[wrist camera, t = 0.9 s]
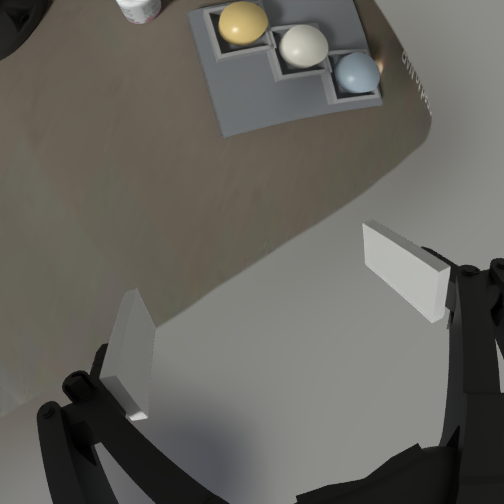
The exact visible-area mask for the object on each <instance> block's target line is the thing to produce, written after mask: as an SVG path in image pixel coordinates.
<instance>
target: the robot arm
mask: <svg viewBox="0 0 504 504" xmlns="http://www.w3.org/2000/svg"><path fill="white" fill-rule="evenodd" d="M47 1H48V0H0V60H2V59H4V58H6V57H7V56H9V55H10V54H11V53H13V52H14V51H15V50H16V49H17V48H19V47H20V46H21V45H22V44H23V43H24V41H25V40H26V39H27V38H28V37H29V36H30V34H31V33H32V32H33V30H34V29H35V27H36V26H37V24H38V23H39V21H40V19H41V17H42V15H43V13H44V10H45V8H46V5H47ZM363 236H364V251H365V264H366V266H368V267H369V268H370V269H371V270H372V271H374V272H375V273H376V274H377V275H378V276H379V277H381V278H382V279H383V280H384V281H385V282H387V283H388V284H389V285H390V286H391V287H392V288H393V289H395V290H396V291H397V292H398V293H399V294H400V295H401V296H402V297H404V298H405V299H406V300H407V301H408V302H409V303H410V304H412V305H413V306H414V307H415V308H416V309H417V310H418V311H419V312H420V313H422V315H424V316H425V317H426V318H427V319H428V320H429V321H430V322H431V323H433V322H435V321H437V320H439V319H441V318H443V316H444V311H445V306H446V307H447V308H448V309H449V310H450V314H449V320H448V325H447V329H449V333H450V334H449V336H450V337H449V373H448V388H447V400H446V410H445V418H444V425H443V432H442V437H441V440H440V443H439V446H435V447H428V448H423V449H421V447H420V446H419V444H418V443H417V444H415V445H414V446H412V447H410V448H408V449H406V450H405V451H403V452H401V453H399V454H397V455H395V456H393V457H391V458H390V459H389V460H388V461H386V462H385V463H384V464H383V465H382V466H380V467H379V468H378V469H376V470H375V471H374V472H372V473H371V474H370V475H369V476H367V477H366V478H364V479H361V480H356V481H350V482H345V483H339V484H332V485H327V486H324V487H321V488H319V489H316V490H313V491H310V492H307V493H303V494H300V495H297V496H296V498H297V501H298V502H296V503H295V504H504V393H501V392H500V381H499V368H498V358H497V350H496V342H495V339H496V341H497V344H498V346H499V349H500V351H501V353H502V356H503V358H504V259H503V258H496V259H493V260H492V261H491V263H490V269H488V270H483V271H480V269H478V268H477V267H475V266H472V265H462V266H457V265H456V264H454V263H453V262H451V261H450V260H448V259H446V258H445V257H443V256H442V255H440V254H437V252H435V251H433V250H432V249H429V248H426V247H419V246H417V245H416V244H414V243H412V242H411V241H409V240H407V239H406V238H404V237H402V236H401V235H399V234H397V233H395V232H394V231H392V230H390V229H389V228H387V227H385V226H383V225H382V224H380V223H378V222H376V221H374V220H371V221H368V222H364V223H363ZM155 330H156V327H155V325H154V323H153V321H152V319H151V317H150V315H149V313H148V311H147V309H146V307H145V304H144V302H143V300H142V298H141V296H140V294H139V291H138V289H134V290H131V291H127V292H125V294H124V297H123V299H122V302H121V305H120V308H119V312H118V315H117V318H116V321H115V324H114V327H113V331H112V334H111V337H110V341H109V343H107V344H102V345H101V347H100V348H99V349H98V351H97V352H96V355H95V359H94V362H93V365H92V366H93V367H92V368H91V372H90V375H88V373H87V372H85V371H81V370H79V371H76V372H73V373H72V374H70V375H69V376H68V377H67V378H66V379H65V380H64V382H63V385H62V389H63V392H64V393H65V394H66V395H67V396H68V398H69V399H70V400H71V401H72V402H73V403H71V404H68V405H66V406H64V407H60V405H59V404H58V403H56V402H55V401H50V402H47V403H45V404H44V405H42V406H41V407H40V409H39V411H38V413H37V425H38V433H39V440H40V446H41V453H42V458H43V464H44V468H45V473H46V478H47V482H48V486H49V490H50V494H51V498H52V501H53V504H119V503H118V501H117V499H116V497H115V495H114V493H113V491H112V488H111V486H110V484H109V482H108V479H107V477H106V474H105V472H104V470H103V467H102V465H101V462H100V460H99V457H98V455H97V452H96V449H95V446H94V445H95V444H97V443H99V442H101V443H102V444H103V445H104V447H105V448H106V449H107V450H108V452H109V453H110V454H111V455H112V456H113V458H114V459H115V460H116V461H117V463H118V464H119V465H120V466H121V467H122V468H123V470H124V471H125V472H126V473H127V474H128V475H129V476H130V477H131V478H132V480H133V481H134V482H135V483H136V484H137V485H138V486H139V487H140V488H141V489H142V490H143V491H144V492H145V493H146V494H147V495H148V496H149V497H150V498H151V499H152V500H153V501H154V502H155V503H156V504H229V503H228V502H226V501H225V500H223V499H222V498H220V497H219V496H217V495H215V494H213V493H212V492H210V491H209V490H207V489H206V488H205V487H203V486H202V485H201V484H199V483H198V482H197V481H195V480H194V479H193V478H191V477H190V476H189V475H188V474H187V473H185V472H184V471H183V470H182V469H180V468H179V467H178V466H177V465H176V464H174V463H173V462H172V461H171V460H170V459H168V458H167V457H166V456H165V455H164V454H163V453H162V452H160V451H159V450H158V449H157V448H156V447H155V446H154V445H153V444H152V443H151V442H150V441H149V440H148V439H146V438H145V437H144V436H143V435H142V434H141V433H140V432H139V431H138V430H137V429H136V428H135V427H134V426H133V425H132V424H131V423H130V422H129V421H128V420H127V419H126V418H125V416H126V414H127V415H128V416H129V417H130V418H131V420H139V419H145V418H148V408H149V393H150V380H151V368H152V357H153V348H154V339H155Z"/></svg>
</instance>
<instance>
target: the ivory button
mask: <svg viewBox="0 0 504 504" xmlns="http://www.w3.org/2000/svg"><path fill="white" fill-rule="evenodd" d="M279 51H280V54H281V56H282V58H283V59H284V60H285V61H286V62H287V63H288V64H290V65H291V66H294V67H296V68H308V67H311V66H313V65H315V64H317V63H319V62H321V61H322V60H324V59H325V57H326V56H327V53H328V42H327V40H326V38H325V36H324V35H323V34H322V33H321V32H320V31H319V30H318V29H316V28H315V27H312V26H309V25H297V26H294V27H292V28H291V29H290V30H289V31H288V32H287V33H286V34H285V35H284V36H283V37H282V38H281V40H280V42H279Z"/></svg>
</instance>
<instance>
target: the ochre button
mask: <svg viewBox="0 0 504 504" xmlns="http://www.w3.org/2000/svg"><path fill="white" fill-rule="evenodd" d="M267 25H268V19H267V15H266V13H265V12H264V10H263V9H262V8H260V7H259V6H258V5H256V4H254V3H251V2H245V1H240V2H235V3H232V4H230V5H228V6H227V7H226V8H225V9H224V10H223V11H222V13H221V16H220V20H219V23H218V30H219V33H220V35H221V37H222V38H223V39H224V40H225V41H227V42H228V43H230V44H233V45H237V46H246V45H250V44H252V43H254V42H256V41H257V40H258V39H259V38H260V37H261V35H262V34H263V33H264V31H265V30H266V28H267Z"/></svg>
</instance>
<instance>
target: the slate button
mask: <svg viewBox="0 0 504 504" xmlns="http://www.w3.org/2000/svg"><path fill="white" fill-rule="evenodd" d="M334 74H335V78H336V80H337V82H338V84H339V85H340V86H341V87H342V88H343V89H344V90H345V91H347V92H350V93H363V92H369V91H372V90H374V89H375V88H376V87H377V85H378V83H379V80H380V72H379V69H378V66H377V64H376V63H375V61H374V60H373V59H372V58H371V57H369V56H368V55H366V54H364V53H360V52H356V53H352V54H349V55H347V56H344V57H342V58H340V59H339V60H338V61H337V63H336V65H335V69H334Z"/></svg>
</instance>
